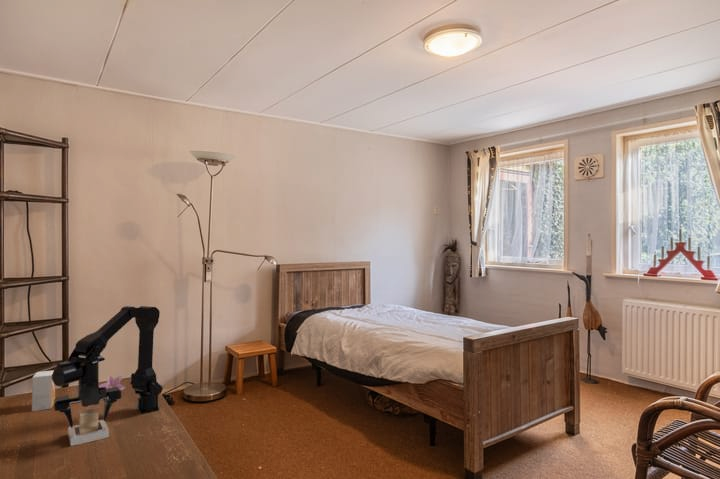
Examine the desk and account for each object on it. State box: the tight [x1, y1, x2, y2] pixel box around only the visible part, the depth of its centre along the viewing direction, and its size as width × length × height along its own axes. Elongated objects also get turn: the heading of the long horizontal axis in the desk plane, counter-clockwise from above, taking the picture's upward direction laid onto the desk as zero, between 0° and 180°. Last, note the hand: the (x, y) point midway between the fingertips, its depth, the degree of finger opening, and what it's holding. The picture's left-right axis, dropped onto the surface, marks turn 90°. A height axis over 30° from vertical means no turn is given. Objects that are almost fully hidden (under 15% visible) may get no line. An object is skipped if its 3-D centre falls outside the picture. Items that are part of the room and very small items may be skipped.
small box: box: [31, 369, 56, 412], centre depth 172 cm, size 8×6×13 cm
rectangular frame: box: [67, 419, 110, 447], centre depth 146 cm, size 10×10×2 cm
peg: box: [78, 407, 99, 435], centre depth 146 cm, size 5×5×8 cm
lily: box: [99, 373, 126, 401], centre depth 183 cm, size 11×11×9 cm
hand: (88, 424), depth 146 cm, fingers open, 9 cm apart
